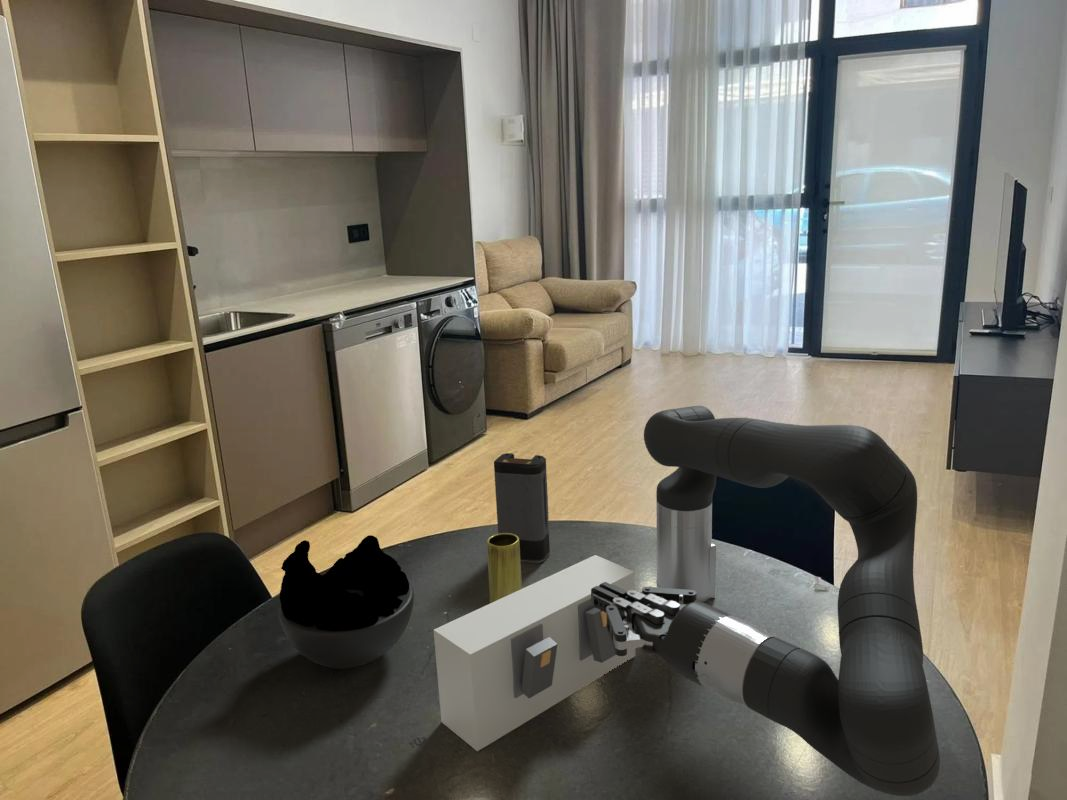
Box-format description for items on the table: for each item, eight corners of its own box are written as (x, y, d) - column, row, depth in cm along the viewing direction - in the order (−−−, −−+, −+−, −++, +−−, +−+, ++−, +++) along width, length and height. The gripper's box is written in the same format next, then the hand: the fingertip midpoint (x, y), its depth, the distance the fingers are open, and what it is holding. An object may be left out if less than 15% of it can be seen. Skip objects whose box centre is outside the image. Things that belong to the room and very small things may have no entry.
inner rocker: (593, 660, 109) (585, 612, 109) (613, 648, 112) (605, 601, 111) (603, 663, 108) (594, 614, 107) (623, 651, 110) (614, 603, 110)
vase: (527, 608, 134) (523, 531, 130) (523, 628, 128) (519, 547, 125) (492, 608, 135) (487, 531, 131) (486, 627, 129) (481, 547, 125)
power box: (441, 722, 106) (433, 629, 103) (597, 635, 125) (595, 554, 122) (478, 752, 100) (471, 655, 97) (636, 656, 119) (635, 572, 115)
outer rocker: (521, 691, 103) (525, 649, 100) (543, 678, 105) (549, 636, 102) (530, 699, 102) (535, 657, 99) (553, 686, 104) (558, 644, 101)
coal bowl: (445, 651, 123) (436, 540, 118) (334, 715, 109) (319, 592, 104) (369, 610, 136) (358, 508, 131) (262, 662, 122) (245, 551, 117)
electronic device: (552, 551, 155) (548, 455, 150) (542, 565, 149) (538, 465, 144) (507, 546, 158) (502, 452, 153) (496, 559, 152) (490, 462, 147)
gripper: (763, 594, 81) (636, 543, 93) (680, 647, 72) (552, 583, 85) (761, 659, 83) (636, 600, 95) (680, 717, 74) (555, 644, 87)
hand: (597, 592), depth 90 cm, fingers closed
